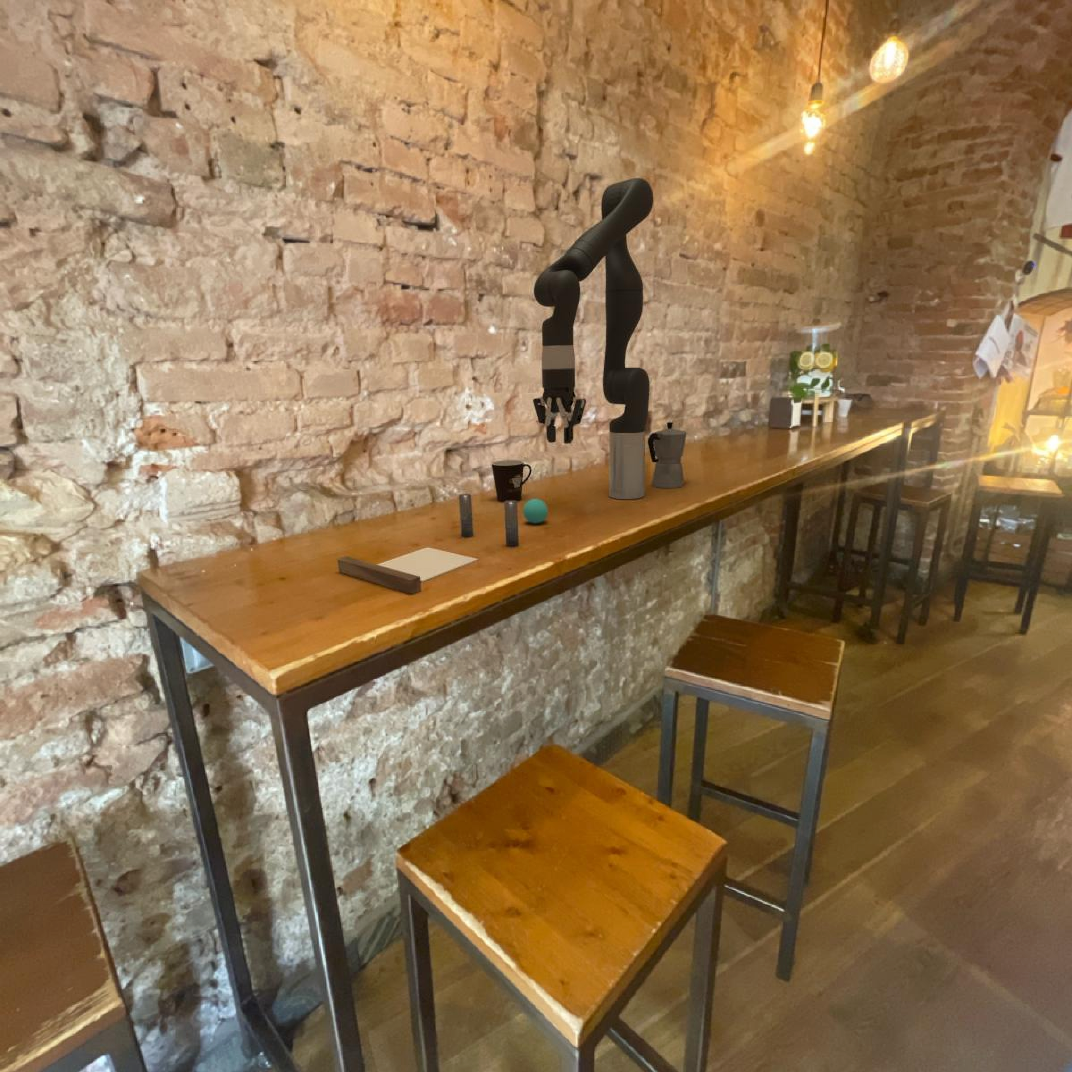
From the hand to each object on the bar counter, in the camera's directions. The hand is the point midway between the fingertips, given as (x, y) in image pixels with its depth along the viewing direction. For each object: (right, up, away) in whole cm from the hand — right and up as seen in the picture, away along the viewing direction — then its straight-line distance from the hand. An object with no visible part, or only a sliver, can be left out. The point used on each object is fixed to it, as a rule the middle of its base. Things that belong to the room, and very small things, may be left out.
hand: (559, 442), depth 144 cm
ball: (-6, -16, -3) cm, 18 cm away
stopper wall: (-33, -30, -37) cm, 58 cm away
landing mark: (-26, -27, -28) cm, 47 cm away
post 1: (-20, -22, -11) cm, 32 cm away
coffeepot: (+32, -8, +32) cm, 46 cm away
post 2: (-10, -24, -18) cm, 32 cm away
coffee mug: (-11, -12, +22) cm, 27 cm away
